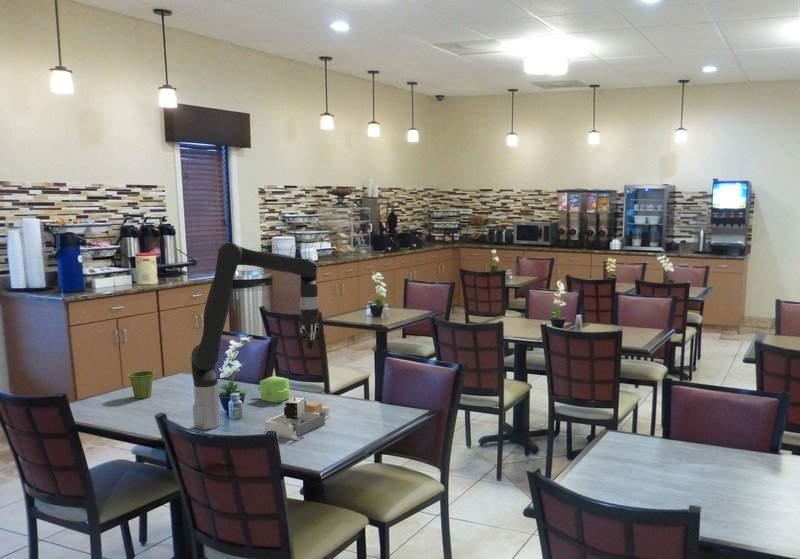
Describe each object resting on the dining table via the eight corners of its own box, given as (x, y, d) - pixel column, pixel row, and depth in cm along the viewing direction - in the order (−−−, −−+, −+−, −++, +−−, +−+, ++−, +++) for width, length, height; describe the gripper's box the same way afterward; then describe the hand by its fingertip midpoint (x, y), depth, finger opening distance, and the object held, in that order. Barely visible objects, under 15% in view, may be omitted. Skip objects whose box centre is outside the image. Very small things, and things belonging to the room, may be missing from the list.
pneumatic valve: (307, 422, 275) (306, 393, 274) (296, 432, 264) (295, 401, 262) (294, 421, 276) (293, 392, 275) (282, 431, 265) (281, 401, 264)
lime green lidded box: (251, 399, 315) (250, 379, 314) (268, 393, 323) (266, 374, 322) (278, 405, 304) (276, 384, 303) (294, 399, 312) (292, 379, 311)
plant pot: (161, 394, 326) (159, 371, 324) (146, 401, 314) (145, 377, 313) (139, 393, 328) (137, 370, 327) (123, 399, 317) (122, 376, 316)
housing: (298, 440, 258) (297, 427, 257) (265, 433, 266) (264, 421, 266) (339, 421, 280) (338, 409, 279) (307, 415, 288) (306, 403, 288)
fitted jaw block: (314, 420, 277) (314, 406, 277) (305, 418, 280) (304, 404, 279) (322, 417, 281) (321, 403, 281) (312, 415, 284) (312, 401, 283)
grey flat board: (298, 436, 258) (297, 423, 258) (295, 436, 259) (295, 423, 258) (325, 424, 272) (325, 411, 272) (323, 423, 273) (322, 411, 273)
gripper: (312, 304, 289) (313, 344, 291) (292, 308, 278) (293, 350, 280) (326, 305, 285) (327, 346, 287) (306, 310, 274) (307, 352, 276)
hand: (310, 348), depth 283 cm, fingers closed
